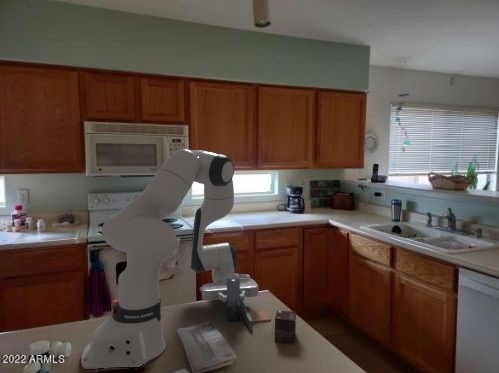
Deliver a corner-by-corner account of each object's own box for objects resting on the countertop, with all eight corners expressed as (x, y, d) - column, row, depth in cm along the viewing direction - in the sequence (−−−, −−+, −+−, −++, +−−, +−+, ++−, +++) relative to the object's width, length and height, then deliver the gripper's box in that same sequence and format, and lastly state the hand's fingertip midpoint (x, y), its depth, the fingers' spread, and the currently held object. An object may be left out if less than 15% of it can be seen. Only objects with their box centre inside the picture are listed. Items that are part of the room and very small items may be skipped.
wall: (249, 329, 113) (249, 320, 112) (239, 308, 128) (239, 300, 128) (252, 329, 113) (252, 320, 113) (242, 308, 128) (242, 300, 128)
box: (294, 344, 105) (294, 320, 104) (274, 341, 106) (274, 318, 105) (295, 333, 111) (296, 311, 110) (276, 331, 112) (277, 309, 111)
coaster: (251, 322, 117) (251, 321, 117) (246, 313, 124) (246, 312, 124) (271, 320, 119) (271, 319, 119) (265, 311, 126) (265, 310, 126)
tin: (228, 323, 117) (228, 282, 116) (225, 317, 121) (225, 278, 120) (240, 321, 118) (241, 281, 117) (238, 316, 122) (238, 277, 121)
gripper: (199, 278, 129) (202, 292, 115) (253, 274, 133) (262, 287, 120) (199, 294, 129) (202, 311, 116) (253, 290, 134) (262, 305, 121)
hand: (233, 299), depth 118 cm, fingers closed on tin, 4 cm apart
